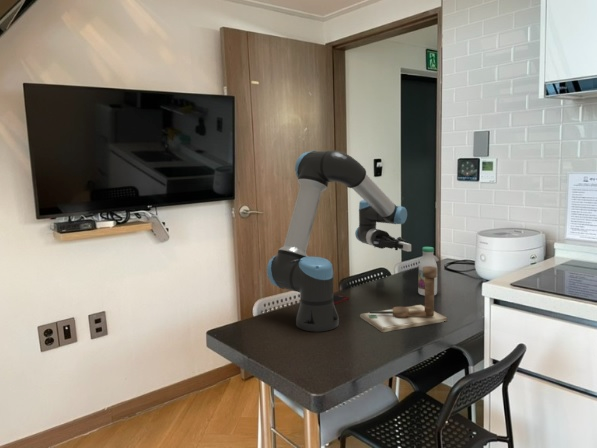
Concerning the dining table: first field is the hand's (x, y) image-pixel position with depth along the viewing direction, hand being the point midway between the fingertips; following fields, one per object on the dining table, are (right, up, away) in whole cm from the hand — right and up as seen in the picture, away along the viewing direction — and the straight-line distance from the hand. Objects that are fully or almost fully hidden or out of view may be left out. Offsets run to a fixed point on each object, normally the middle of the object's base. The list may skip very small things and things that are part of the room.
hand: (409, 247), depth 174 cm
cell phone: (-29, -23, +15) cm, 40 cm away
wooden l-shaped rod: (-5, -23, -9) cm, 25 cm away
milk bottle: (+13, -21, +21) cm, 32 cm away
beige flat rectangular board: (-4, -25, -8) cm, 27 cm away
